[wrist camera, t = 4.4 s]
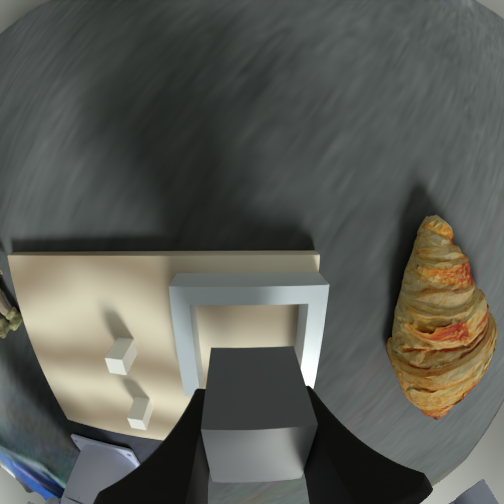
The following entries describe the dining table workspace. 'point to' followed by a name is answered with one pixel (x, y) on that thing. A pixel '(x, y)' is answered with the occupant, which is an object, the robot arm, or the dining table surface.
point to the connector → (256, 415)
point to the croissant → (440, 324)
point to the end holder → (247, 293)
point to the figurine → (8, 316)
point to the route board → (137, 325)
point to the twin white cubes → (120, 363)
